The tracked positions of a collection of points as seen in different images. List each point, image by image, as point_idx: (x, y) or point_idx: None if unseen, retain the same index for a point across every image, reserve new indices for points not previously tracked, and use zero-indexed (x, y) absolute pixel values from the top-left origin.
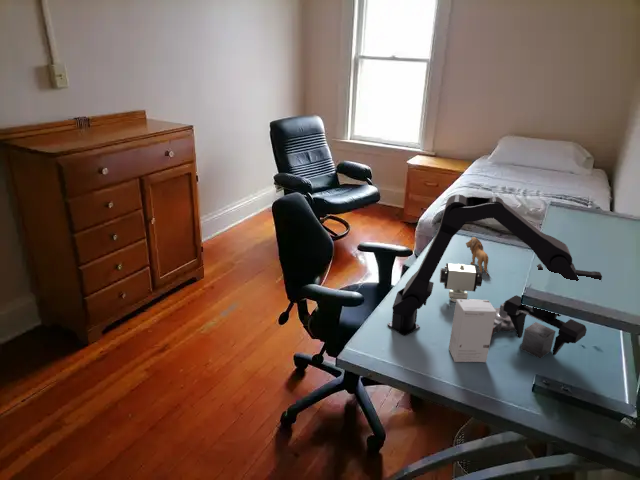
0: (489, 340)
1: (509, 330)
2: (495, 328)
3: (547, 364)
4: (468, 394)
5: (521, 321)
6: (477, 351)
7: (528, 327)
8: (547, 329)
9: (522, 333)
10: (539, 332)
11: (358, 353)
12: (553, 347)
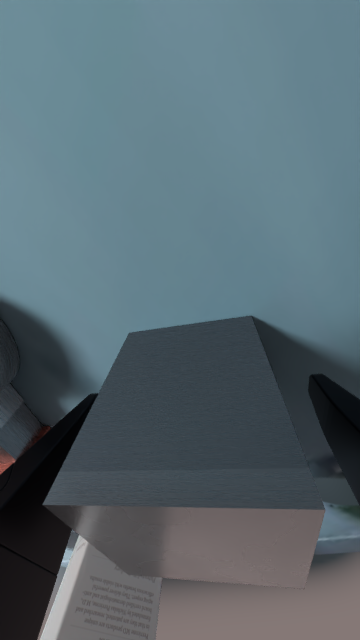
0: (154, 635)
1: (15, 362)
2: (9, 433)
3: (302, 405)
4: None
5: (25, 554)
6: None
7: (118, 561)
8: (227, 527)
9: (86, 411)
10: (217, 567)
11: (66, 562)
12: (352, 490)
